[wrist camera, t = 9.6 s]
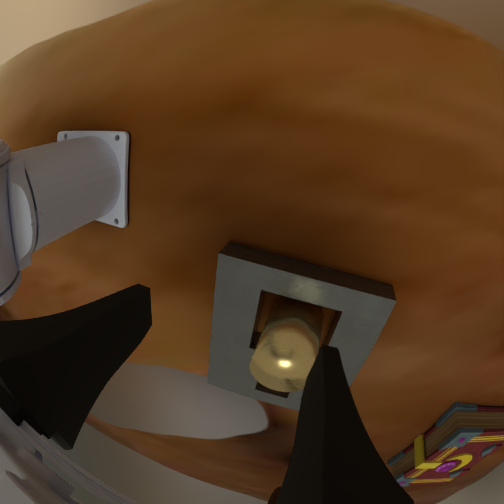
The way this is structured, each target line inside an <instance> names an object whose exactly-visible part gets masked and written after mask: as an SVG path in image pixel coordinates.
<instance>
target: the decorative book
mask: <svg viewBox="0 0 504 504" xmlns="http://www.w3.org/2000/svg"><path fill="white" fill-rule="evenodd" d="M503 442H504V407H482V406H477V404H467V403H457V402H455V403H454V404H453V405H452V406H451V407H450V408H449V409H448V410H447V411H446V412H445V413H444V414H443V415H442V416H441V417H440V418H439V419H438V420H437V421H436V424H435V425H434V426H433V427H432V428H431V429H430V430H429V431H428V432H426V433H425V434H421V435H419V436H418V437H417V438H416V439H415V440H414V444H412V445H411V446H410V447H409V448H407V449H406V450H405V451H402V452H400V453H399V454H398V455H396V456H395V457H394V458H392V459H391V460H390V461H388V466H393V472H392V475H393V477H394V478H395V480H396V481H397V482H398V483H399V485H400V486H409V485H424V484H441V483H447V482H449V481H450V480H452V479H454V478H455V477H460V476H462V475H463V474H465V473H466V472H468V471H469V470H470V467H472V466H473V465H474V464H476V463H477V462H479V461H480V460H481V459H483V458H484V457H485V456H487V455H489V454H493V453H494V452H495V451H497V450H498V449H499V448H500V447H502V443H503Z"/></svg>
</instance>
